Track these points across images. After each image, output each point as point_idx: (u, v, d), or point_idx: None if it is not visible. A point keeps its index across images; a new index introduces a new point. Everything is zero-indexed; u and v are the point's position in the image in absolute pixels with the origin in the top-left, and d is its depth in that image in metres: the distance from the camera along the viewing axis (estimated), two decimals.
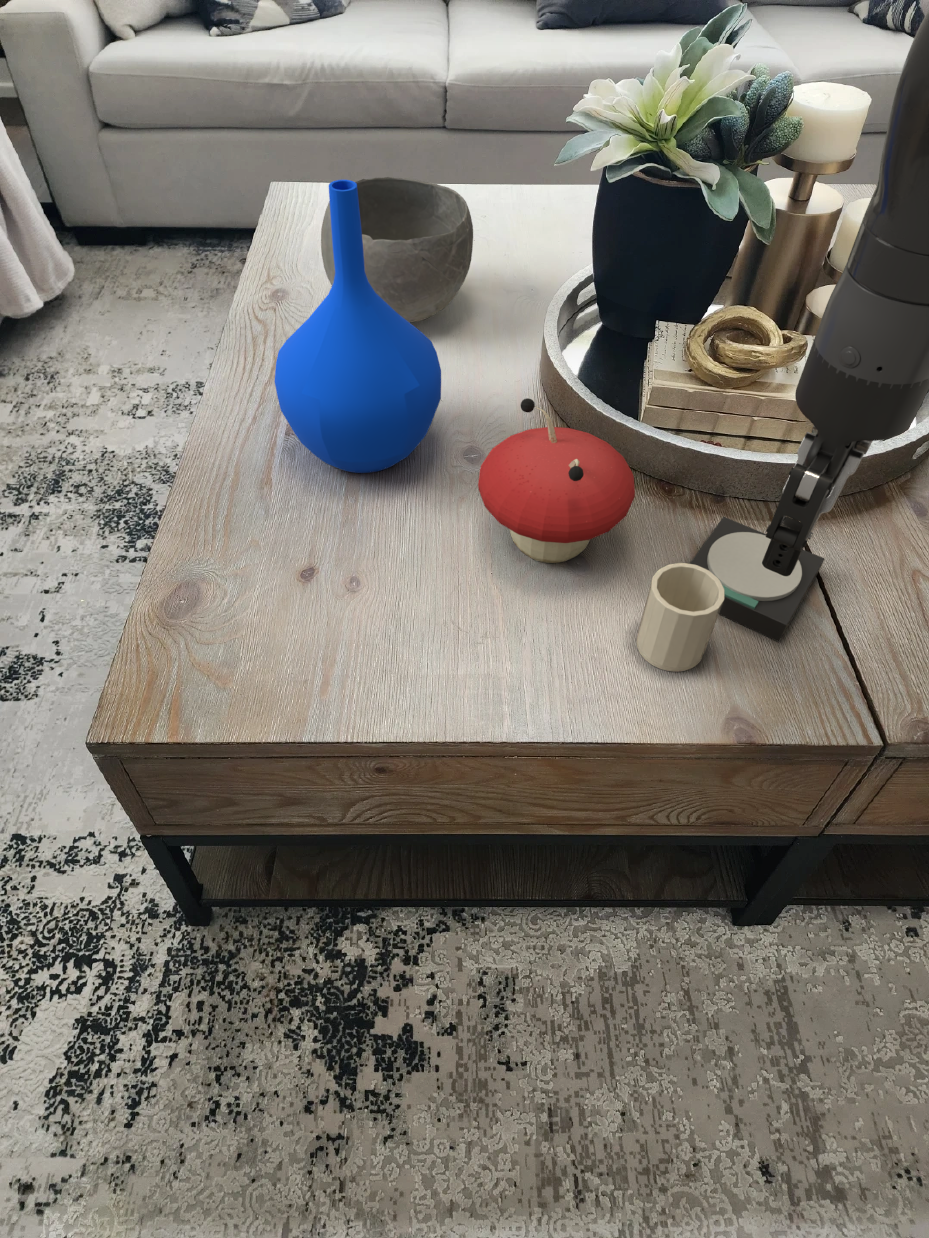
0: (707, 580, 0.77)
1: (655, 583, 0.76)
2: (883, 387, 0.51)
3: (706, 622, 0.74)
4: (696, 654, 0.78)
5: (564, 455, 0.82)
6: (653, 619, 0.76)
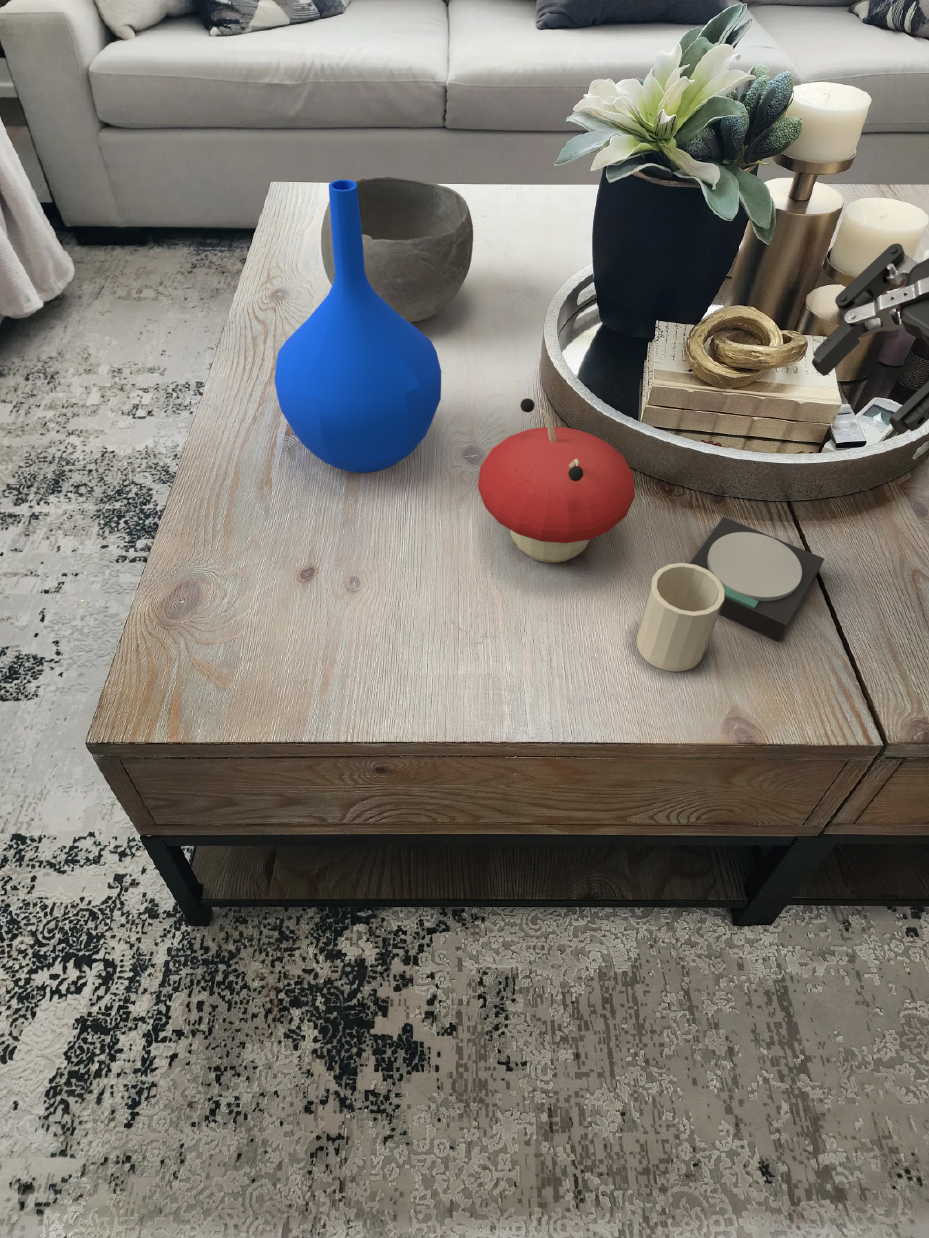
0: (707, 580, 0.77)
1: (655, 583, 0.76)
2: None
3: (706, 622, 0.74)
4: (696, 654, 0.78)
5: (564, 455, 0.82)
6: (653, 619, 0.76)
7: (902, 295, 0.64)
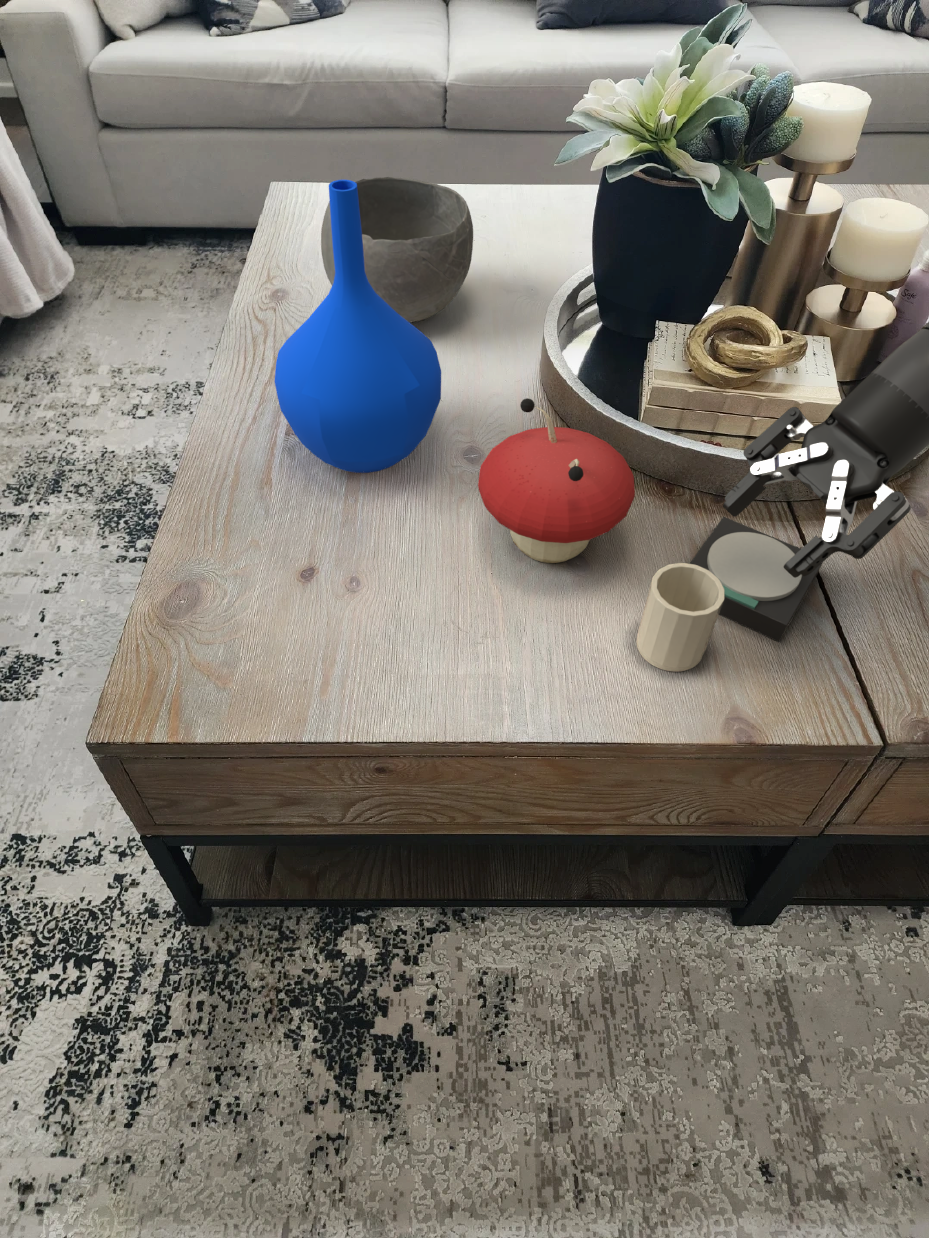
0: (707, 580, 0.77)
1: (655, 583, 0.76)
2: None
3: (706, 622, 0.74)
4: (696, 654, 0.78)
5: (564, 455, 0.82)
6: (653, 619, 0.76)
7: (797, 456, 0.73)
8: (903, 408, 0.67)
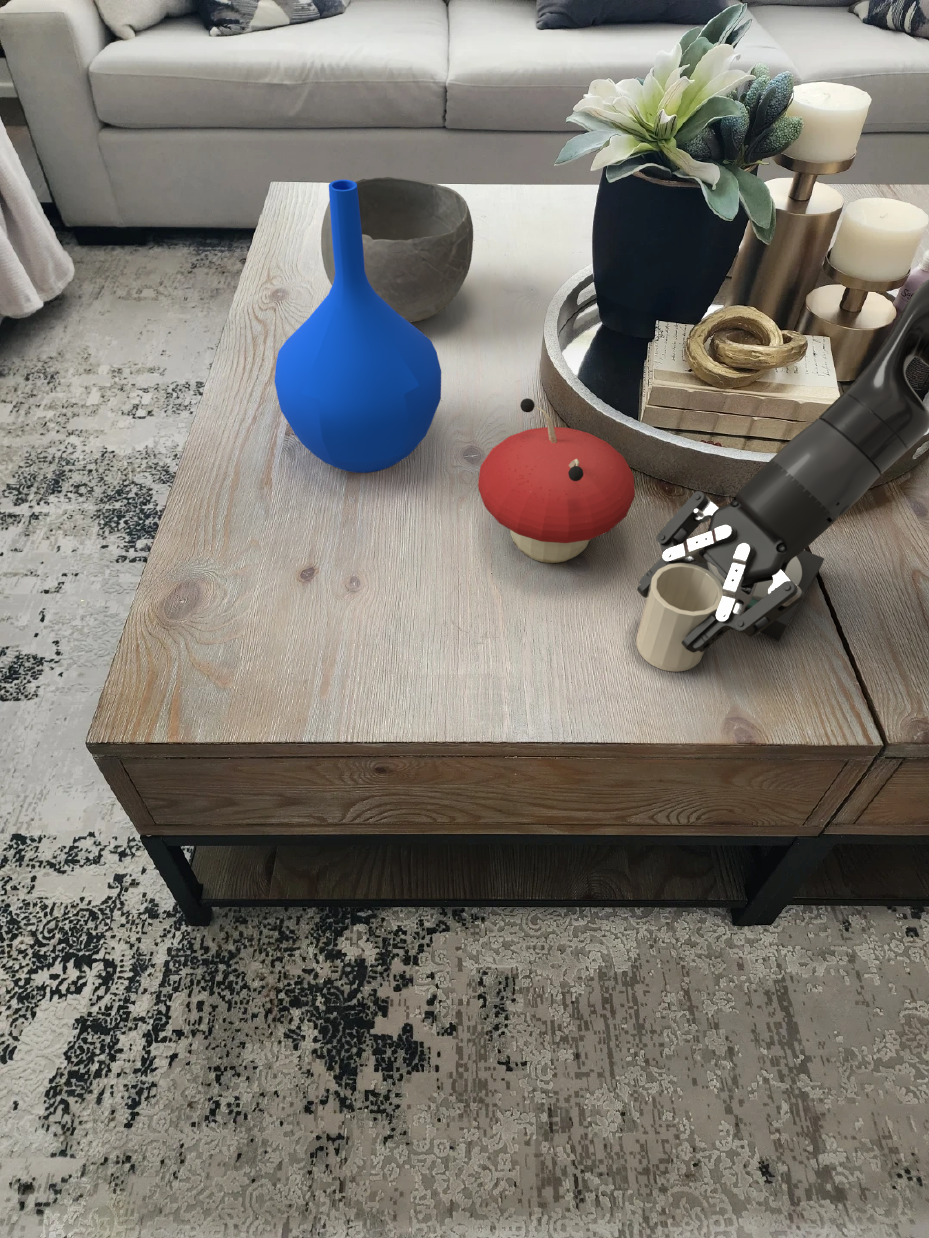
0: (707, 580, 0.77)
1: (655, 583, 0.76)
2: None
3: None
4: (696, 654, 0.78)
5: (564, 455, 0.82)
6: (653, 619, 0.76)
7: (703, 537, 0.75)
8: (798, 497, 0.69)
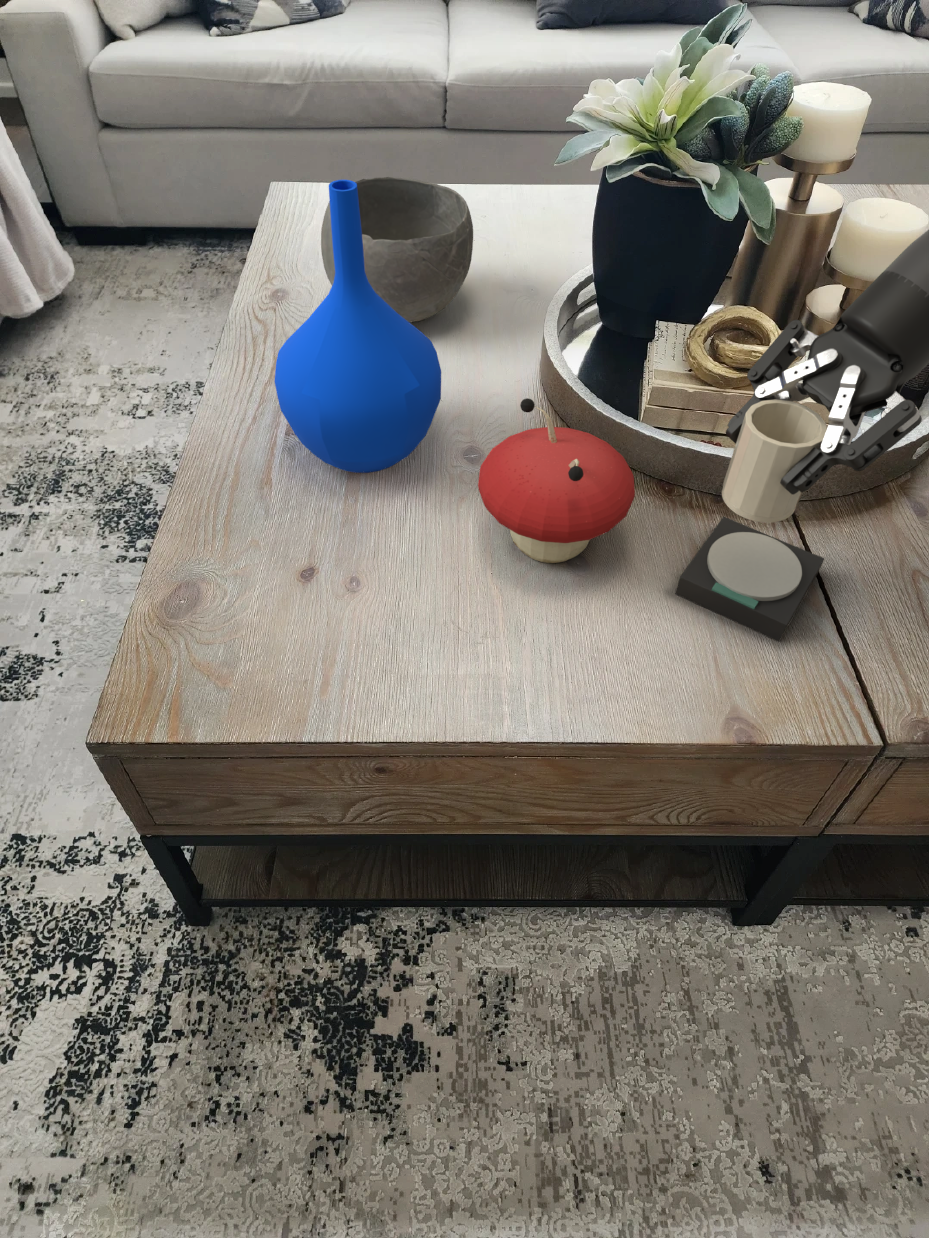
0: (805, 417, 0.70)
1: (749, 418, 0.69)
2: None
3: None
4: (792, 501, 0.71)
5: (564, 455, 0.82)
6: (747, 459, 0.69)
7: (804, 365, 0.68)
8: (918, 304, 0.62)
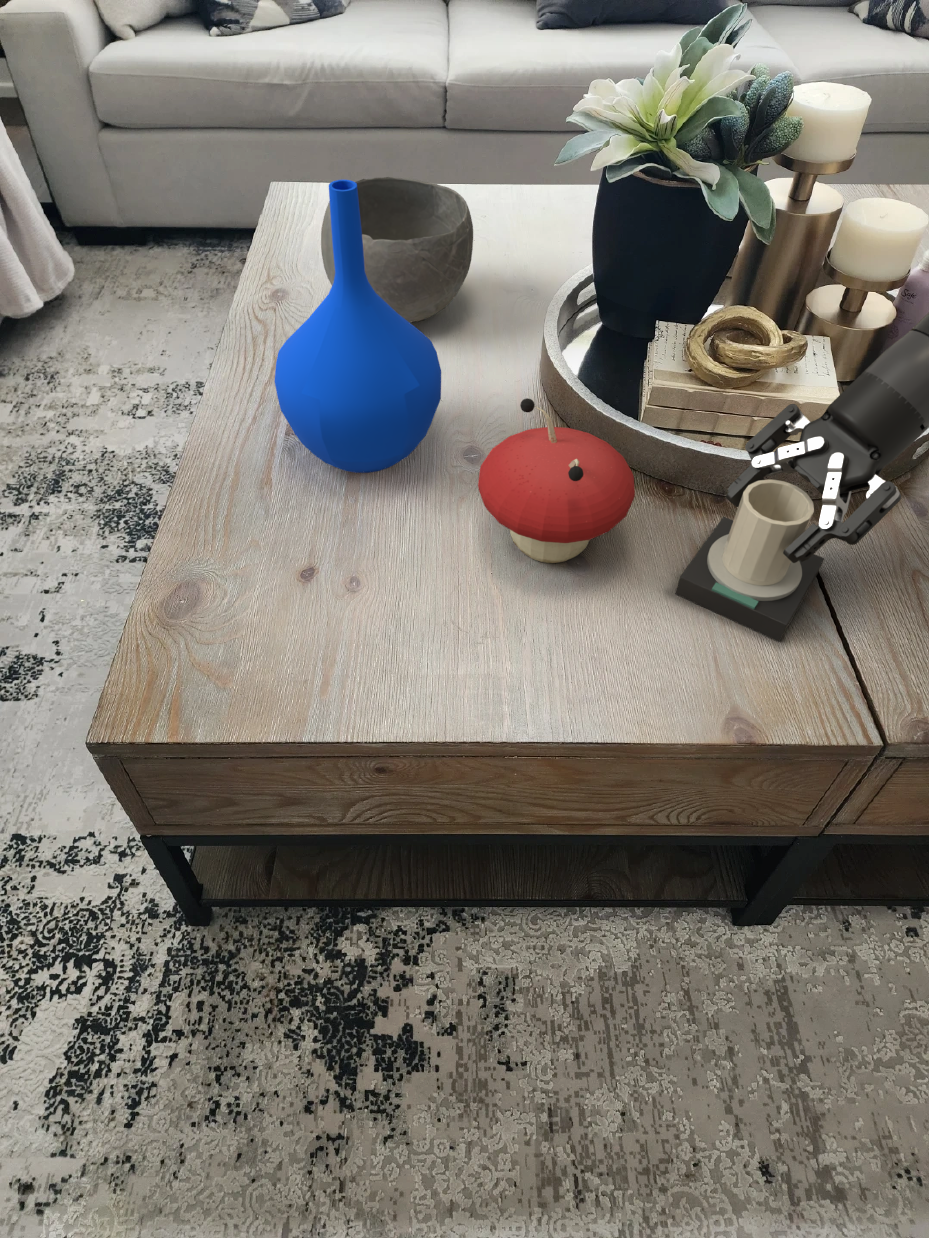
0: (795, 495, 0.80)
1: (746, 497, 0.79)
2: None
3: (797, 533, 0.78)
4: (783, 567, 0.81)
5: (564, 455, 0.82)
6: (744, 532, 0.79)
7: (795, 449, 0.78)
8: (893, 404, 0.72)
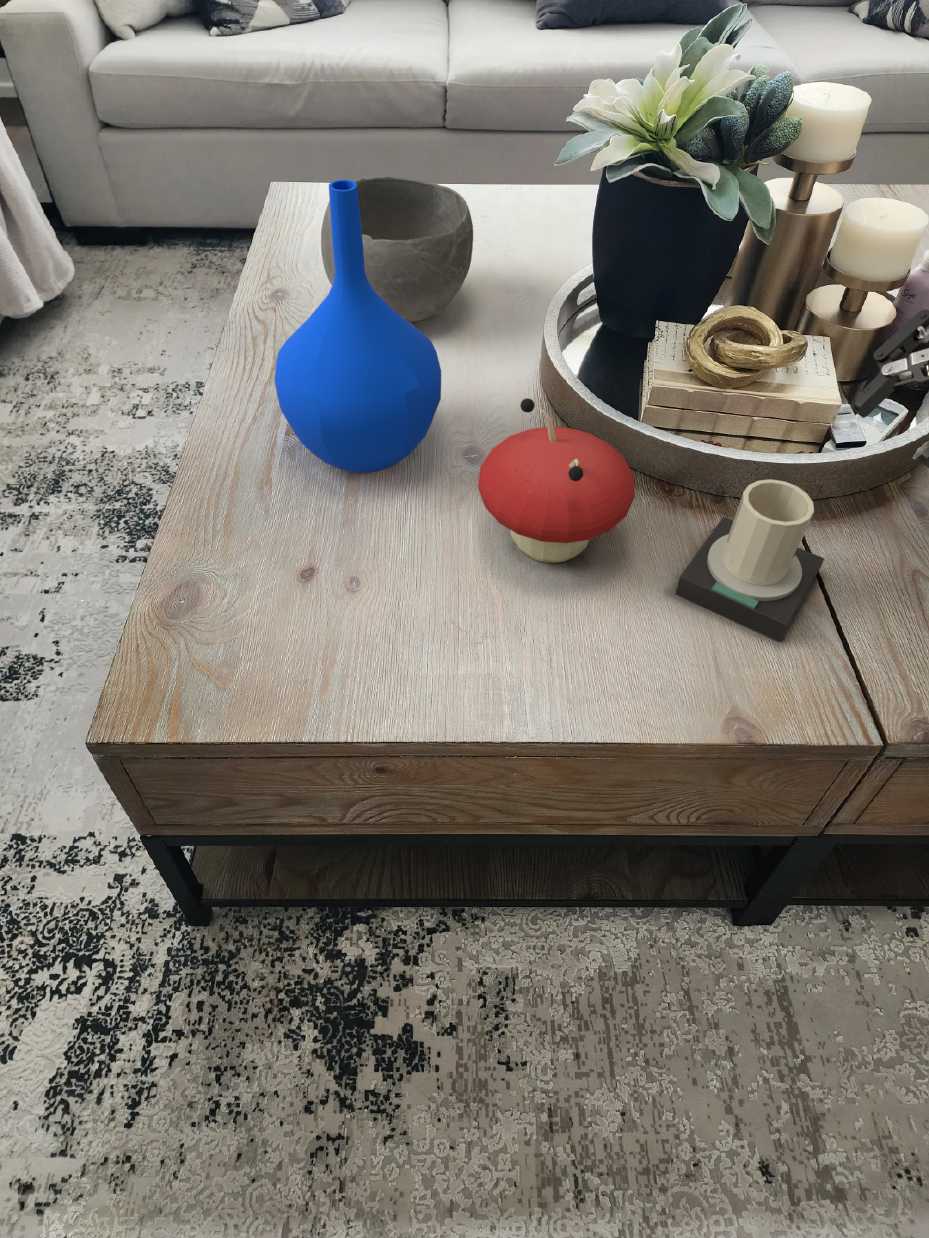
0: (795, 495, 0.80)
1: (746, 497, 0.79)
2: None
3: (797, 533, 0.78)
4: (783, 567, 0.81)
5: (564, 455, 0.82)
6: (744, 532, 0.79)
7: None
8: None
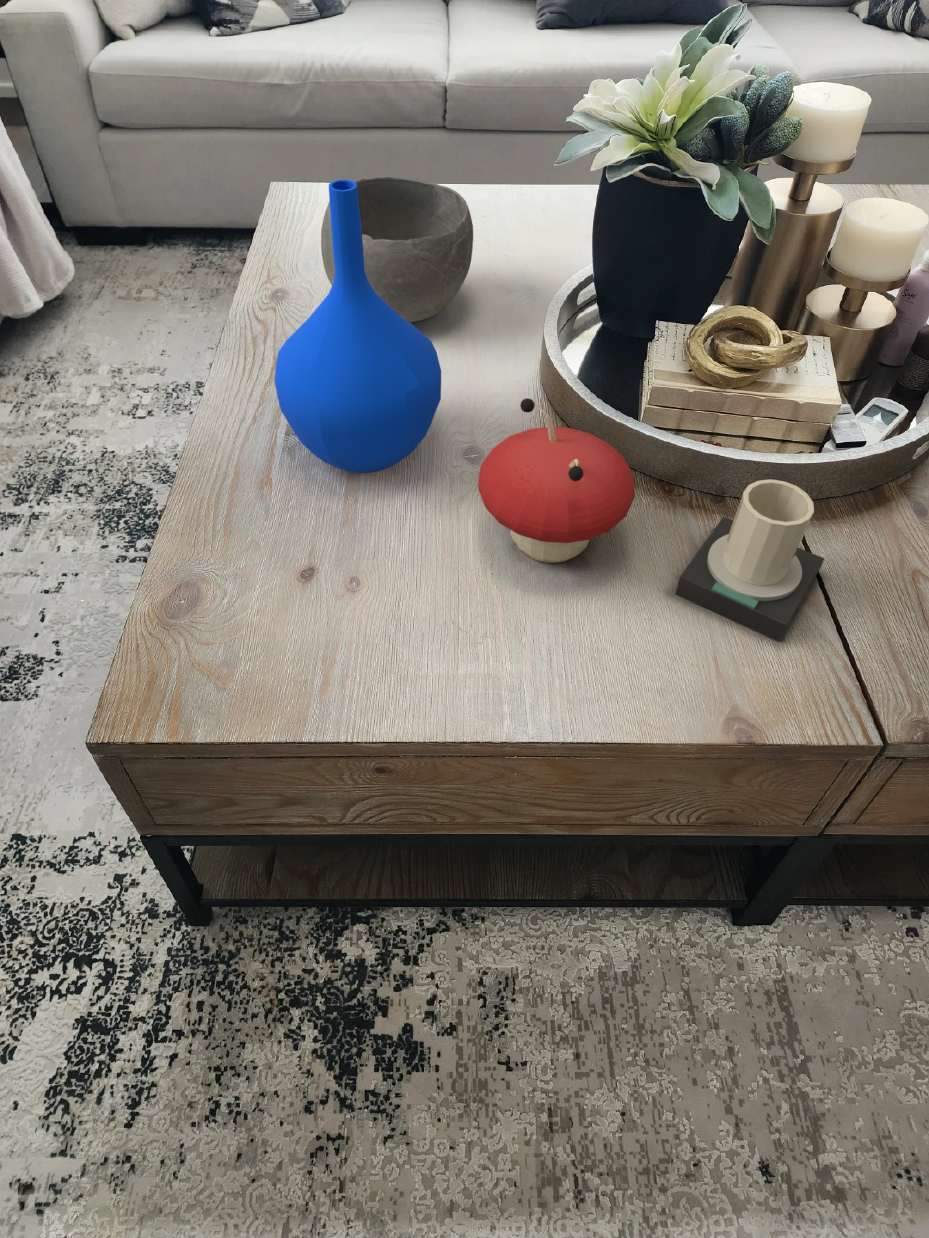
0: (795, 495, 0.80)
1: (746, 497, 0.79)
2: None
3: (797, 533, 0.78)
4: (783, 567, 0.81)
5: (564, 455, 0.82)
6: (744, 532, 0.79)
7: None
8: None
